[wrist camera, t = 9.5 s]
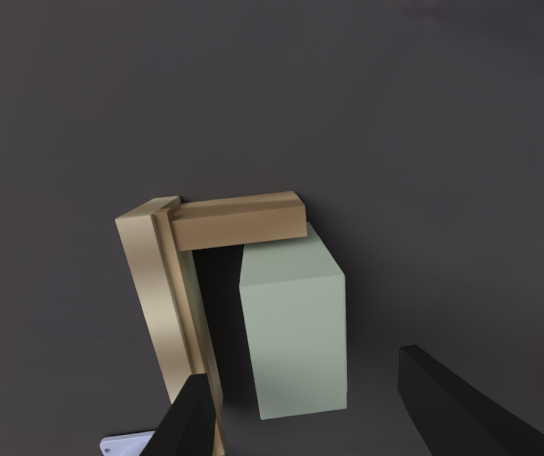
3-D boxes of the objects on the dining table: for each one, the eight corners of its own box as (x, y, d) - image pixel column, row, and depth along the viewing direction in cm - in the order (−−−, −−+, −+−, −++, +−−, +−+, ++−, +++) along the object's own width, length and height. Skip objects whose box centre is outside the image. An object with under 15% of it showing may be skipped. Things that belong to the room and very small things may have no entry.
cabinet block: (321, 313, 19) (357, 406, 12) (259, 321, 19) (260, 419, 12) (316, 220, 17) (356, 272, 10) (246, 229, 16) (239, 287, 10)
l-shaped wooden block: (308, 384, 21) (322, 447, 16) (204, 397, 20) (190, 465, 16) (292, 182, 16) (306, 197, 11) (154, 198, 15) (114, 219, 11)
